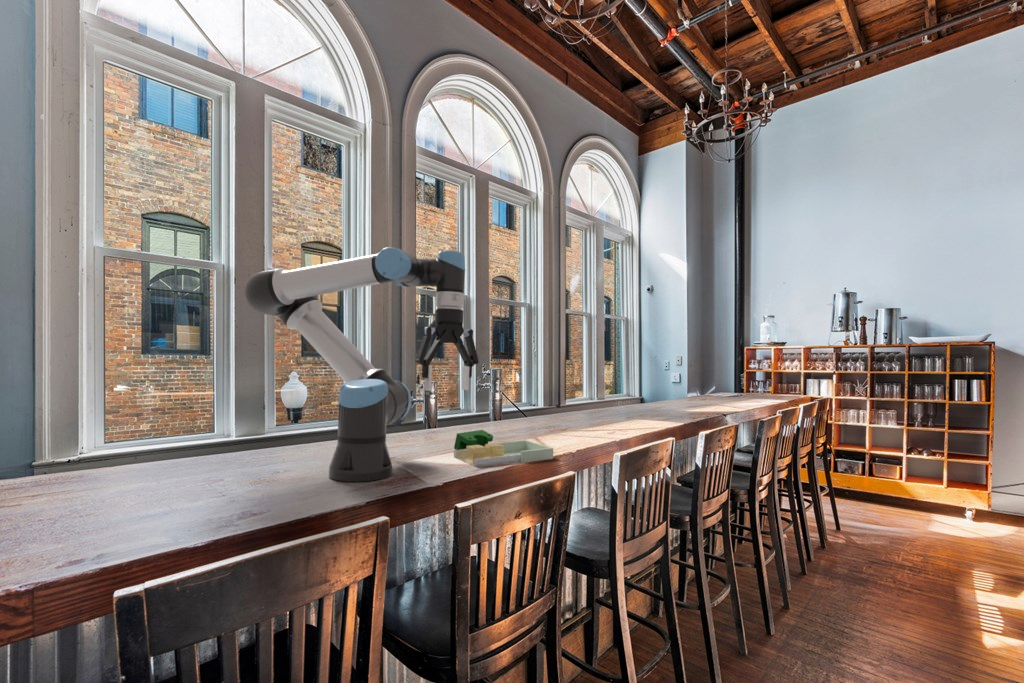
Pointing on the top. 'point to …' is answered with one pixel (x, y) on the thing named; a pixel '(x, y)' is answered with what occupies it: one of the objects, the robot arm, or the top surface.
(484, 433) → the clamp
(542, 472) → the top surface
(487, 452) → the pale yellow cube
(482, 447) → the chip
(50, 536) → the top surface
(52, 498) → the top surface
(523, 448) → the tray
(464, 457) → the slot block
